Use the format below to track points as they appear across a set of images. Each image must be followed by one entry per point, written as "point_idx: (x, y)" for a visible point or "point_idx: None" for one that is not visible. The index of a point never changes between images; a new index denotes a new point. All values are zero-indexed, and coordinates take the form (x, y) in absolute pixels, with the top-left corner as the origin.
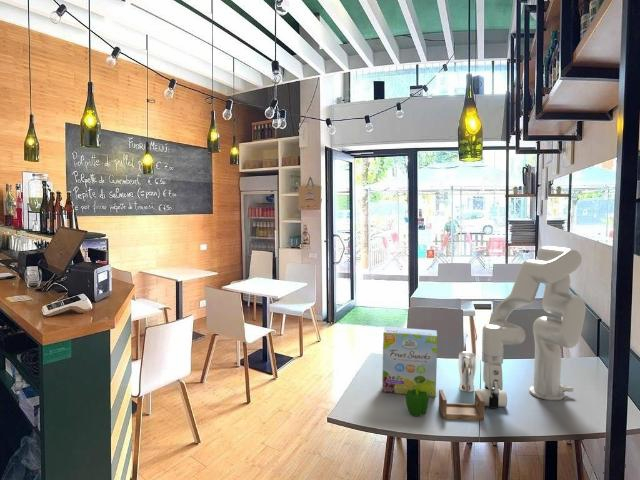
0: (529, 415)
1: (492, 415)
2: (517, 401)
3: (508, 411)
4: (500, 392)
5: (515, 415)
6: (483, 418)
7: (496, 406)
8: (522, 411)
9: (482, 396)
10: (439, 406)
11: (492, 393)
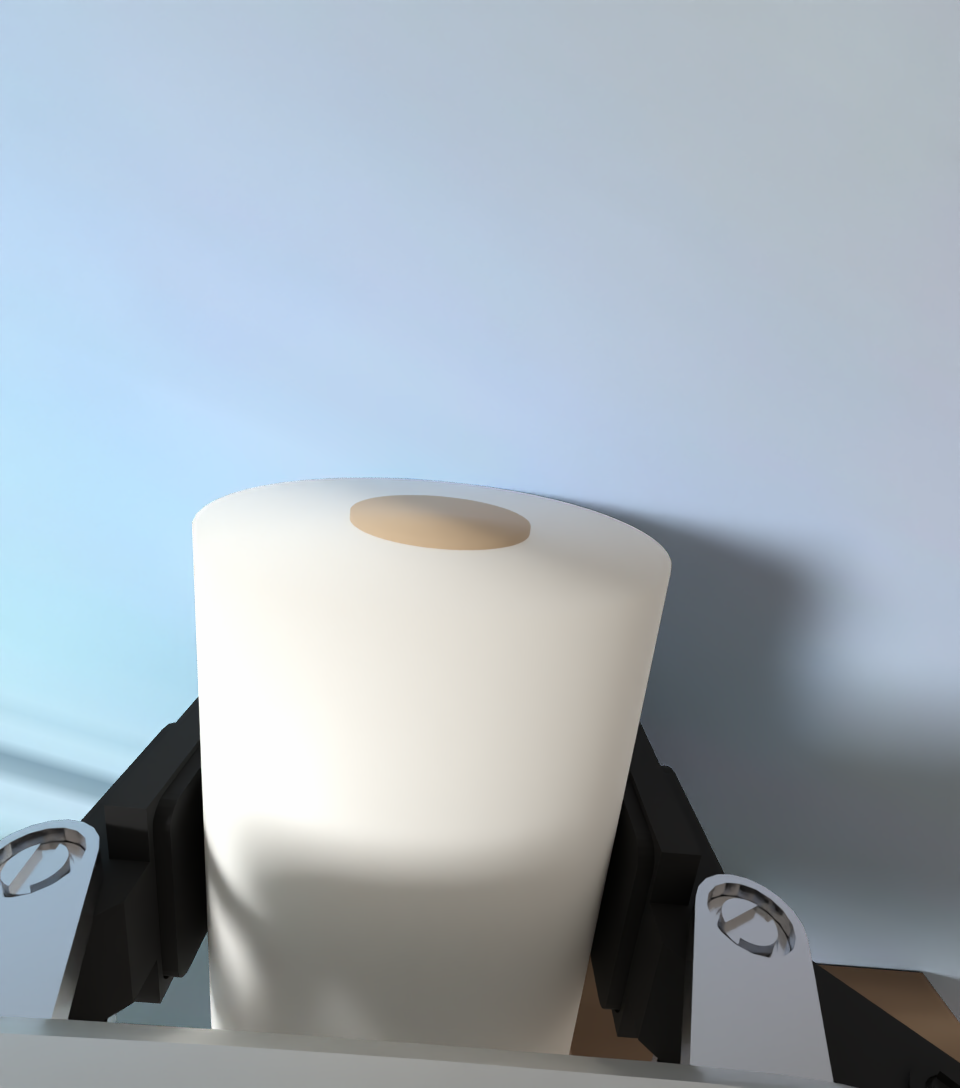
0: (945, 112)
1: (797, 821)
2: (208, 56)
3: (697, 507)
4: (523, 799)
5: (876, 441)
6: (942, 1011)
7: None
8: (736, 194)
9: None
10: None
11: (534, 1000)
